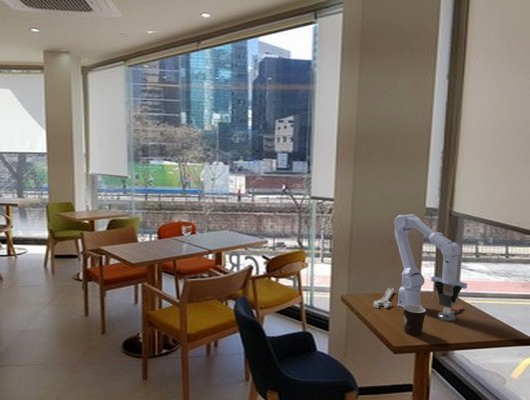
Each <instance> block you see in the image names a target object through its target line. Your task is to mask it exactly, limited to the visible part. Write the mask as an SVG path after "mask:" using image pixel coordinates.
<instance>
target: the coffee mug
mask: <svg viewBox="0 0 530 400" xmlns="http://www.w3.org/2000/svg"><path fill="white" fill-rule="evenodd" d="M402 309H403V326H404V328H403V329H404V333H405V334H407V335H409V336H412V337H413V336H414V337H418V336H421V335H422V332H423V328H424V322H425V316H426V312H427V310H426V308H424V307H420V306H416V305H405V306H403V307H402Z"/></svg>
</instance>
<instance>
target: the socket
mask: <svg viewBox="0 0 530 400" xmlns="http://www.w3.org/2000/svg"><path fill="white" fill-rule="evenodd" d="M438 299H439V300H438V301H439V302H438V305H440V306H442V307H447V308H452V307H454V306H455V305H456V302H455V303H453V302H452V300H453V292H450V291H446V290H443V292H441V293H440V298H439V297H438Z"/></svg>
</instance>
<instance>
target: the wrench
mask: <svg viewBox="0 0 530 400" xmlns="http://www.w3.org/2000/svg"><path fill="white" fill-rule="evenodd" d="M394 289H395V288H393V287H388V288H387V289H386V291H385V293H384V294H383V296H382V297H381V298H380V299H378V300H374V301H373V304H372V305H373V307H374V308H376V309H379V308H380V307H384V308H385V309H388V308H389V307H393V303H392V302H390V299H391V297H392V296H393V293H395V292H394V291H395V290H394Z"/></svg>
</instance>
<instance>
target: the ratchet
mask: <svg viewBox="0 0 530 400" xmlns="http://www.w3.org/2000/svg"><path fill="white" fill-rule="evenodd" d="M461 310H463V305H462V304H458V303H457V304H456V303H455V305H454V306H452V307H451V308H450V307H447V306H443V308H442V311H439V312H438V313H437V317H436V318H437V319H438V320H440V321H443V322H449V323H452V322H455V321H456V314H458V313H459V312H460V311H461Z"/></svg>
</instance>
